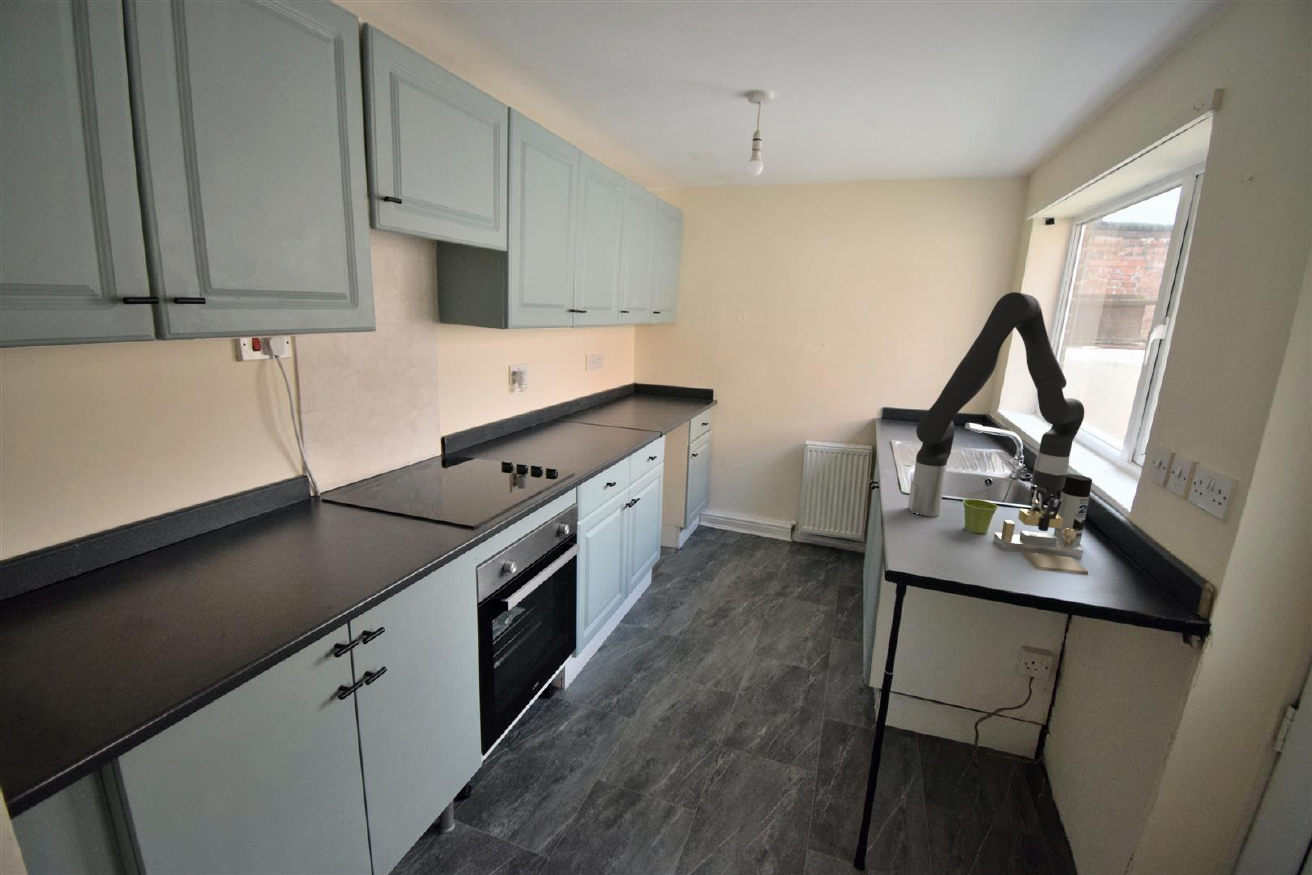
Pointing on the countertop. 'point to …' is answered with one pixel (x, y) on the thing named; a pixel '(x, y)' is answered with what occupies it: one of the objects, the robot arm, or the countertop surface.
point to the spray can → (1074, 505)
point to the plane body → (1037, 542)
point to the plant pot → (978, 515)
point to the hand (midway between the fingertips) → (1038, 526)
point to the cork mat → (1054, 563)
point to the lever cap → (1037, 518)
